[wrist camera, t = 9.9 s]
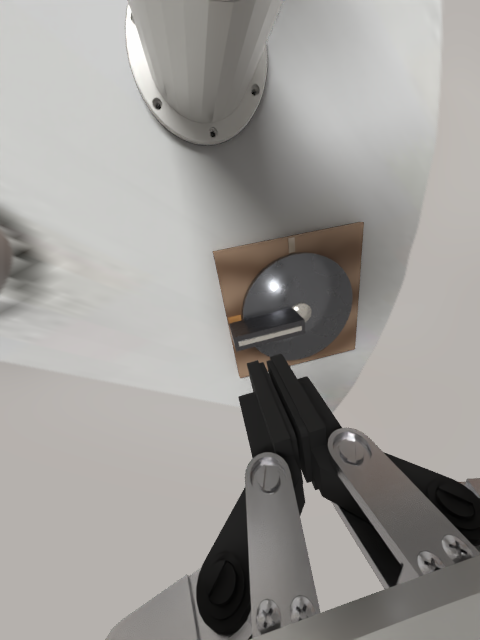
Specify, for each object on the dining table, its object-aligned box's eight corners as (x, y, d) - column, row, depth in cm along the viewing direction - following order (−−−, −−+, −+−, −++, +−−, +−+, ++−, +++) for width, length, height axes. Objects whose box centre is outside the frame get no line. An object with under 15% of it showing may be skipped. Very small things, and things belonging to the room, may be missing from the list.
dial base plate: (212, 251, 29) (213, 252, 28) (358, 222, 31) (365, 222, 30) (238, 374, 38) (240, 379, 37) (351, 346, 40) (356, 350, 38)
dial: (239, 370, 36) (246, 394, 31) (216, 271, 29) (220, 282, 24) (346, 341, 37) (368, 360, 32) (348, 240, 30) (377, 245, 25)
